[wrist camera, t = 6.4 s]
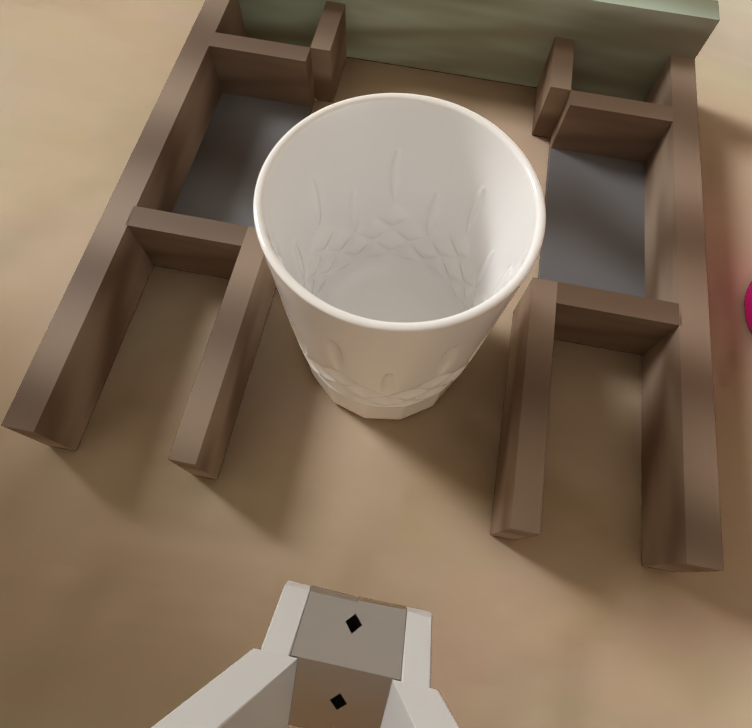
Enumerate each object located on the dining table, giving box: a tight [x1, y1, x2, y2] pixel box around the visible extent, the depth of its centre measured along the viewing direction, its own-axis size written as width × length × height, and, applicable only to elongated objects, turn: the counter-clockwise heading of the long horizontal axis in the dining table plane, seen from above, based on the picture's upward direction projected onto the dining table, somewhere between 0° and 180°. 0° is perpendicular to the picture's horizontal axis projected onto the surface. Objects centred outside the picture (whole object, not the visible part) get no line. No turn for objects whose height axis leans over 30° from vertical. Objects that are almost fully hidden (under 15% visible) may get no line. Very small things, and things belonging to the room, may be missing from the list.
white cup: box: [253, 93, 546, 420], centre depth 19 cm, size 8×8×10 cm
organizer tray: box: [1, 0, 724, 572], centre depth 23 cm, size 26×25×5 cm
